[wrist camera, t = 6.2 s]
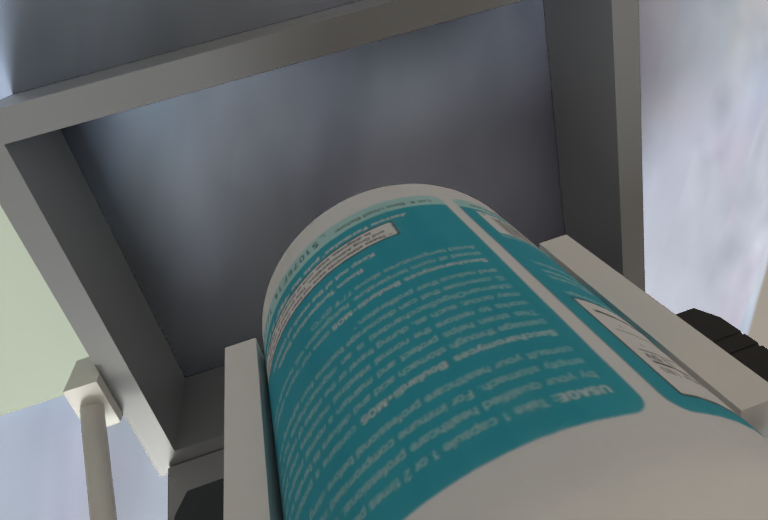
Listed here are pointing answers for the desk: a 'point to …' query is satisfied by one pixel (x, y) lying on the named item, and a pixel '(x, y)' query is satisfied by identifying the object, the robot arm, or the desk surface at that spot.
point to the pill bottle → (479, 381)
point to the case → (236, 61)
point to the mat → (30, 330)
